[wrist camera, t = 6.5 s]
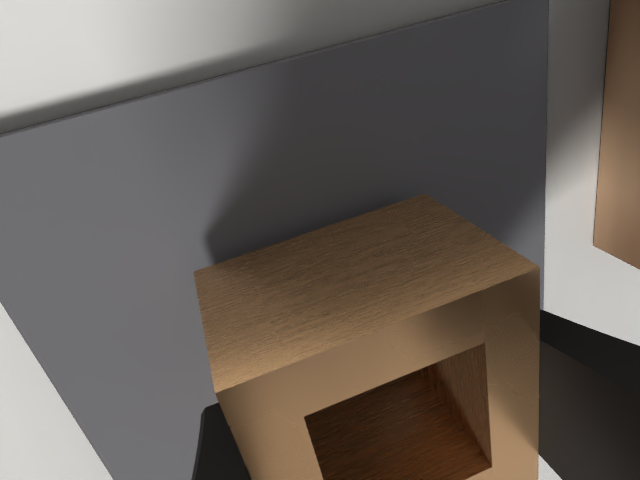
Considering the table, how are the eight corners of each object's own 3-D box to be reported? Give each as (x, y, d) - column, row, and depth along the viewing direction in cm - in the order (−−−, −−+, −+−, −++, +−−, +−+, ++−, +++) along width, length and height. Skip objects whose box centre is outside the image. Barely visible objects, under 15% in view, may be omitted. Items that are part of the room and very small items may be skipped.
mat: (533, 395, 16) (541, 404, 16) (170, 556, 14) (171, 570, 13) (535, -8, 10) (548, -9, 10) (-79, 154, 8) (-89, 161, 8)
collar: (444, 368, 13) (537, 479, 10) (260, 444, 12) (300, 593, 9) (425, 193, 10) (540, 266, 7) (193, 271, 9) (215, 393, 6)
